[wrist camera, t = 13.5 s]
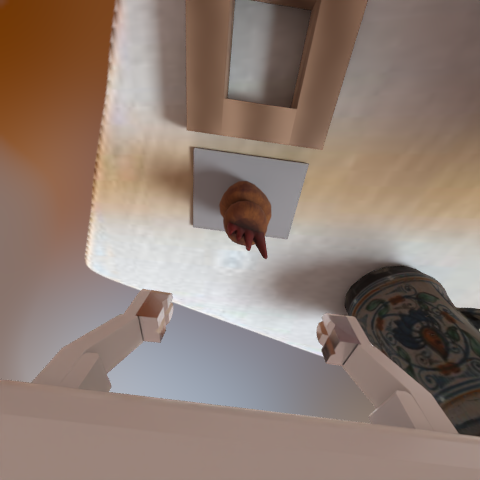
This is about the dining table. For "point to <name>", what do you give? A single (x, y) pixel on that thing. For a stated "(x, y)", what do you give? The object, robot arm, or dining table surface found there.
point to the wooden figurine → (246, 215)
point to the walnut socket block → (307, 85)
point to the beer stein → (424, 337)
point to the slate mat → (254, 171)
